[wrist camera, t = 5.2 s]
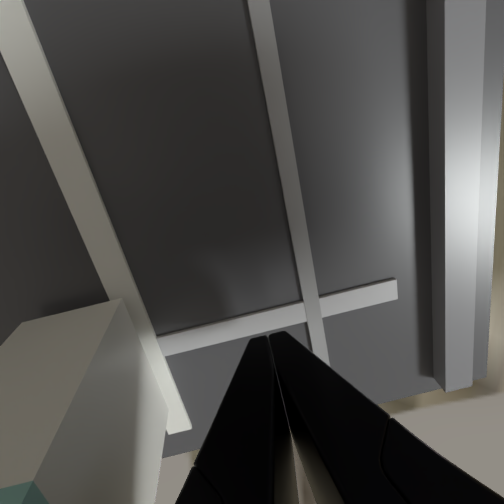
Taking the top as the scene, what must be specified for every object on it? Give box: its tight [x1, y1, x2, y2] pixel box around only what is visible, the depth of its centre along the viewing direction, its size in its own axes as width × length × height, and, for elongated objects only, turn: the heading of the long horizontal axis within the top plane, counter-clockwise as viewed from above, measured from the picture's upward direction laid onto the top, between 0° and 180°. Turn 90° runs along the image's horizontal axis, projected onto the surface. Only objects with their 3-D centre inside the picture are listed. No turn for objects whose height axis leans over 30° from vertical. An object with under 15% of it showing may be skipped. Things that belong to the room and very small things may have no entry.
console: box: [0, 0, 504, 458], centre depth 8 cm, size 19×18×2 cm
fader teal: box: [0, 298, 169, 504], centre depth 7 cm, size 2×4×5 cm, turn 13°
